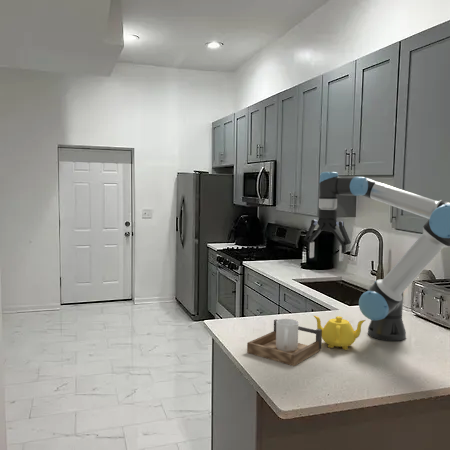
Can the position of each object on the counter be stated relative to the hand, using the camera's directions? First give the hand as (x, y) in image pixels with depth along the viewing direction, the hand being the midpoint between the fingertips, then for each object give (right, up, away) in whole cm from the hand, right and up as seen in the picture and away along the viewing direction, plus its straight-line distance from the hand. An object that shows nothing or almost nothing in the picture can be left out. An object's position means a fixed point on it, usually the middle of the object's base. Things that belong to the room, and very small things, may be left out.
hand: (326, 259), depth 194 cm
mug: (-20, -33, -22) cm, 44 cm away
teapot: (+2, -33, -14) cm, 36 cm away
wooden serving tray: (-20, -33, -21) cm, 44 cm away
